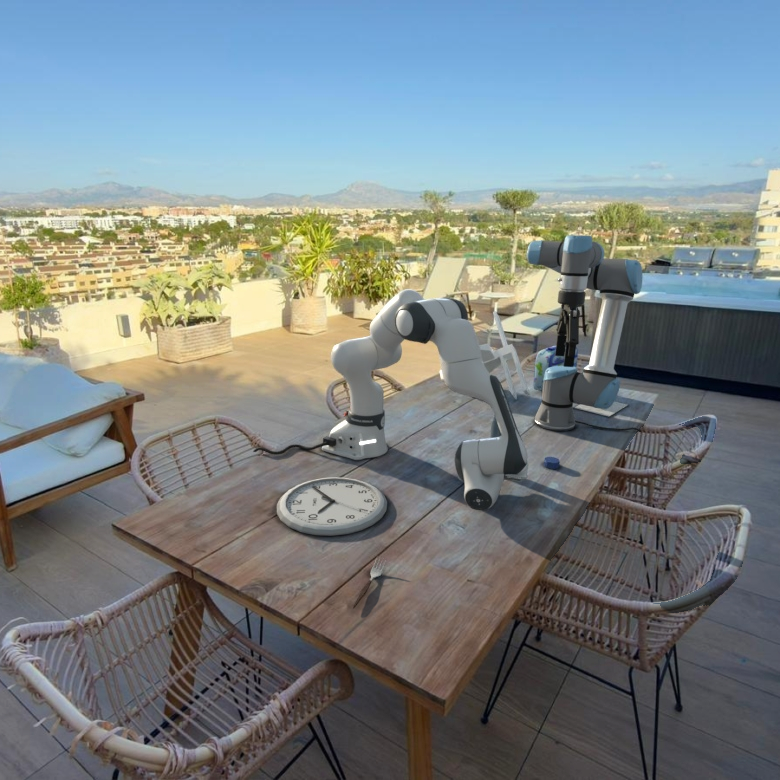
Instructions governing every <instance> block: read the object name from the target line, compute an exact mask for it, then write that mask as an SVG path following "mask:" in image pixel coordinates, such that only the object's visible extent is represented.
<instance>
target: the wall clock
mask: <svg viewBox="0 0 780 780" xmlns="http://www.w3.org/2000/svg"><path fill="white" fill-rule="evenodd" d="M387 509H388V500H387V498H386V496H385V494H384V493H383V492H382V491H381V490H380V489H379V488H377V487H376V486H374V485H372V484H371V483H369V482H365V481H362V480H359V479H355V478H349V477H338V476H337V477H335V476H333V477H332V476H331V477H322V478H317V479H312V480H307V481H305V482H302V483H299V484H297V485H295V486H293V487H292V488H290V489H288V490H287V491H286V492H285V493H284V494H283V495H281V496H280V498H279V499H278V502H277V503H276V515H277V517H278V518H279V520H280V521H281V522H282V523H283V524H285V525H286V526H287V527H288V528H290V529H293V530H295V531H297V532H299V533H303V534H308V535H312V536H327V537H328V536H329V537H331V536H332V537H333V536H342V535H350V534H352V533H356V532H361V531H363V530H366V529H368V528H369V527H372V526H373V525H375V524H376V523H378V522H379V521H380V520H381V519H382V518H383V517H384V516H385V514H386V512H387Z"/></svg>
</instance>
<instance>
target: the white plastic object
mask: <svg viewBox="0 0 780 780" xmlns="http://www.w3.org/2000/svg"><path fill="white" fill-rule="evenodd" d="M492 315H493V319H494V321H495V324H496V325H495V326H496V328H497V332H498V335H499V338H500V342H501V345H502V347H500V348H498V349H496V350H495V349H493V348H492V347H491V346H490V344H489V343H488V342H487V343H483V344H479V345H480V350H481V355H482V357H479V358H482V360H483V363H484V366H485V368H486V369H487V371H488V372H489V373H490V374H491V373H492V372H494V371H495V370H496V369H497V368H499V367H500V366H502V370H503V373H504V376H505V380H506V383H507V386H508V390H509V393H510V394H511V395H512V397H513V398H514V399H515V400H517V392H516V391H517V390H516V388H515V385H514V381H513V378H512V375H511V371H510V369H509V365H508V361H510V360H513V363H514V366H515V369H516V372H517V376H518V380H519V382H520V385H521V389H522V391H523V393H524V395H525V396H526V397H528V396H531V395H530V390H529V388H528V387H529V386H528V384H527V381H526V378H525V375H524V371H523V369H522V368H523V367H522V366H521V362H520V359H519V355H518V352H517V349H516V347H515V346H514V345H513V343H511V344H508V341H507V337H506V334H505V331H504V328H503V325H502V321H501V318H500V315H499V314H498V312H497V311H496V310H495V311H492ZM438 372H439V376H440V381H442V383H443V384H444V385H445V386H447V385H446V383H445V381H444V378H443V375H442V371H441V369H440V370H439V371H438Z"/></svg>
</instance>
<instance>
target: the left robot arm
mask: <svg viewBox="0 0 780 780" xmlns="http://www.w3.org/2000/svg"><path fill="white" fill-rule="evenodd" d="M369 334H370V335H368V336H365V337H358V338H350V339H346V340H344V341H341V342H339V343H337V344H335V345H333V347H332V349H331V353H330V363H331V365H332V367H333V369H334V370H335V372H337V373H338V374H340V375H341V376H342V377H343V378H344V379H345V381H346V384H347V385H348V389H349V401H350V405H349V407H348V409H346V410H345V412H344V413H343V418H345V419H343V420H342V421H340V422H339V423H338V424H336V425H335V426H334V427H332V429H331V430H330V433H329V435H328V436H327V435H326V436H324V437H323V438H322V442H321V443H318V444H316V445H313V446H304V445H301V444H290V445H288V446H286V447H285V448H283V449H281V450H278V451H274V450H270V449H268V448H266V447H264V446H263V447H262V446H259V447H258V446H257V447H256V448H254V450H253V451H252V452H253V453H257V452H258V451H262V452H265V453H267V454H270V455H282V454H284V453H286V452H287V451H289V450H290V449H293V448H299V449H302V450H304V451H313V450H316V449H318V448H319V449H320V448H321V450H322V451H323V452H327V453H328V454H329V453H330V454H333V455H337V456H340V457H344V458H347V459H351V460H355V461H360V460H364V459H371V458H376V457H380V456H383V455H384V454H386V453H387V452H388V450H389V447H388V445H387V444H388V443H387V441H386V434H385V423H386V414H385V413H386V412H385V409H384V405H385V403H384V400H385V399H384V396H385V394H384V392H385V390H384V388H383V386H382V385H381V384H380V383H379V382H377V381H376V380H373V377H372V371H377V370H381V369H387V368H389V367H391V366H393V365H395V364H398V363H399V362H400V360H401V358H402V355H403V348H402V343H403V342H404V341H405V340H406V341H410V342H414V343H419V344H423V345H426V344H429V342H432V343H433V344H434V345H435V346H436V348H437V351H438V357H439V364H440V370H441V371H442V375H443V378H444V381H445V383H446V385H445V386H447V387H448V388H449V389H450V390H452V391H453V392H455V393H456V394H460V395H462V396H466V397H471V398H476V399H477V400H481V401H482V402H485V403H486V404H488V405H489V406H490V408H491V409H492V413H493V416H494V415H495V418H496V421H497V424H498V426H499V429H500V432H501V436H500V437H494V438H490V437H486V438H485V437H484V438H473V439H466V440H463V441H461V443H460V444H459V445H458V447H457V449H456V450H455V455H454V466H455V470H456V473H457V475H458V480H459V481H461V482H462V483H464V491H463V498H464V501H465V503H466V505H467V506H468V507H470V508H471V509H472V510H475V511H486V510H489V509H491V508H492V507H493V506H494V505H495V504H496V502H497V501H498V498H499V495H500V492H501V488H502V486H503V483H504V481H510V482H516V483H517V482H519V483H520V482H523V481H526V480H527V479H528V472H529V463H528V459H529V458H528V450H527V447H526V445H525V443H524V441H523V439H522V436H521V435H520V432H519V430H518V427H517V424H516V421H515V418H514V415H513V412H512V409H511V406H510V403H509V401H508V398H507V395H506V393H505V390H504V388H503V386H502V383H501V382H500V380H499V378H498V377H497V376H495V375H493V374H491V372H490V373H489V372H488V371H487V369H486V368H485V366H484V363H483V360H482V358H479V357H482V355H481V350H480V345H481V344H480V341H479V338H478V335H477V332H476V330H475V328H474V325H473V323H472V322H470V320H469V313H468V309H467V307H466V306H465V304H464V303H463V302H462V301H461V300H459V299H457V298H456V299H455V298H451V297H444V298H428V299H424V297H423V296H422V295H421V294H420V292H418V291H416V290H414V289H410V288H409V289H408V288H407V289H402V290H400V291H399V292H398V293H396V295H394V296H393V297H392V298H390V299H389V300H388V302H386V304H385V305H384V306H383V307H382V308H381V309H380V310H379V312H378V313H377V314H376V316H375V317H374V318H373V319H372V321H371V322H370V324H369Z"/></svg>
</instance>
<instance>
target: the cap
mask: <svg viewBox="0 0 780 780" xmlns="http://www.w3.org/2000/svg"><path fill="white" fill-rule="evenodd" d="M543 467H545V468H547V469H551V470H557V469H559V468H560V459H559V458H558V457H555V456H546V457H545V458H544V459H543Z"/></svg>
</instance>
